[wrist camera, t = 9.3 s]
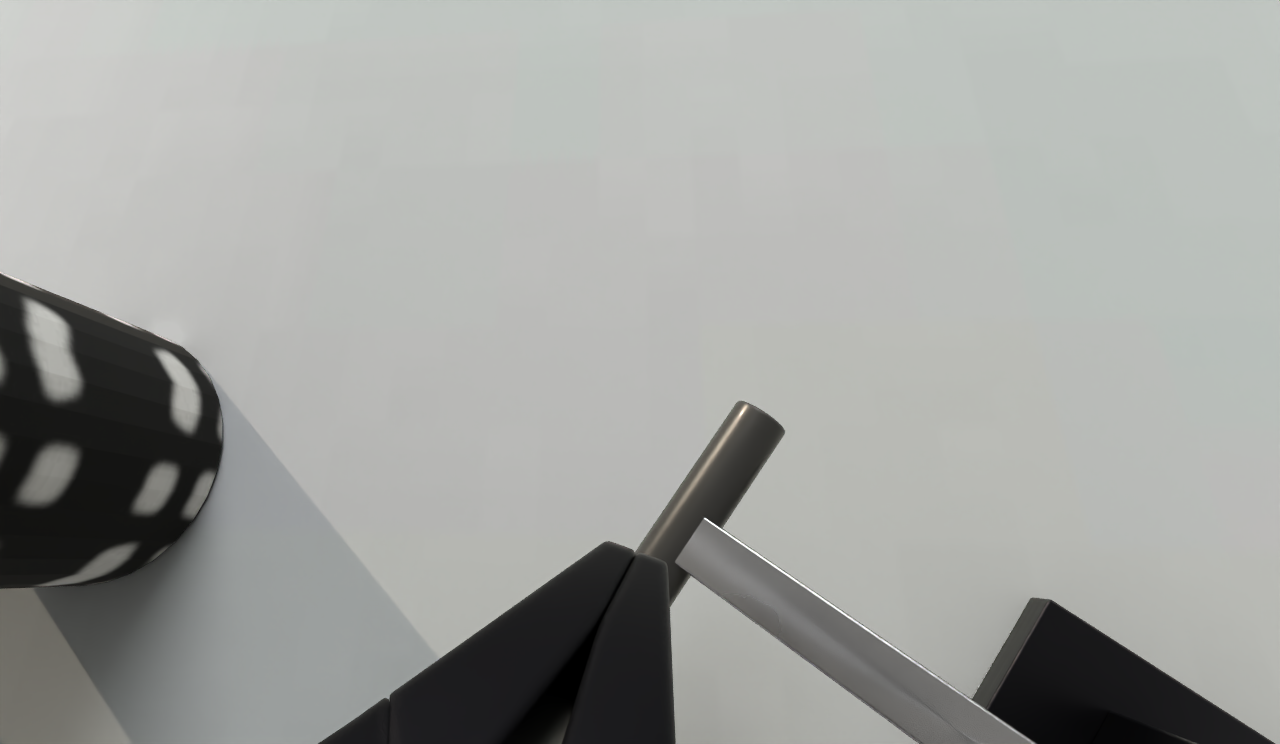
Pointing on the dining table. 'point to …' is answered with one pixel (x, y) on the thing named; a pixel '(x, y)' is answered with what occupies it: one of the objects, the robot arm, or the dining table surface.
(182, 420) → the white-spotted black cylinder
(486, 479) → the dining table surface
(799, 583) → the lever
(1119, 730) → the bracket
